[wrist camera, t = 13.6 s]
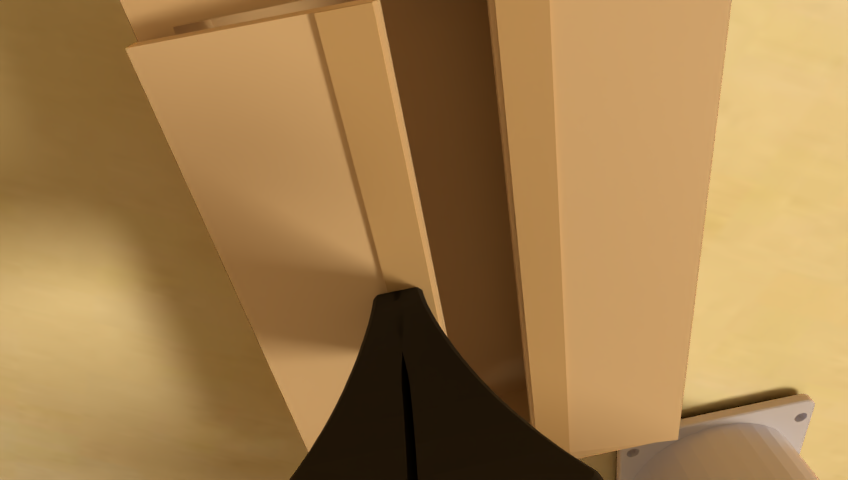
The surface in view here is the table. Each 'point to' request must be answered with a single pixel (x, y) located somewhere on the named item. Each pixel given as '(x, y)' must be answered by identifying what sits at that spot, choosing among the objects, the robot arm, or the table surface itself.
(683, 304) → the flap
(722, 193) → the table surface
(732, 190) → the table surface
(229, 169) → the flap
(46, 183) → the table surface
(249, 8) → the carton
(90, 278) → the table surface
